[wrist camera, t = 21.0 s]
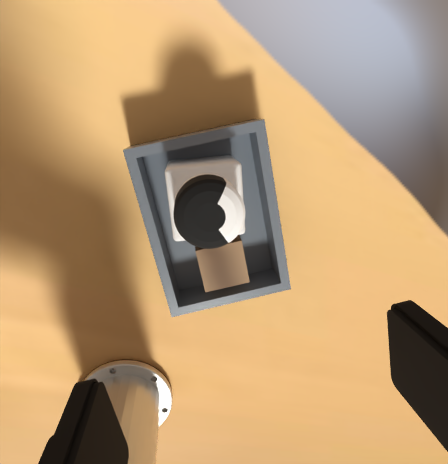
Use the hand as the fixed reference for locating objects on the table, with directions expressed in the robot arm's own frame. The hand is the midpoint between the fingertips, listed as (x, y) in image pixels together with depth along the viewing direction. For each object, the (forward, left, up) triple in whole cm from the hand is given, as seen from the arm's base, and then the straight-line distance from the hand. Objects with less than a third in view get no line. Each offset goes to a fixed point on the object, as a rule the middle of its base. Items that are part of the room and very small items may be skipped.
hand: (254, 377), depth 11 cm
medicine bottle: (0, 0, -31) cm, 31 cm away
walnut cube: (-8, 0, -30) cm, 31 cm away
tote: (-3, 0, -31) cm, 31 cm away
